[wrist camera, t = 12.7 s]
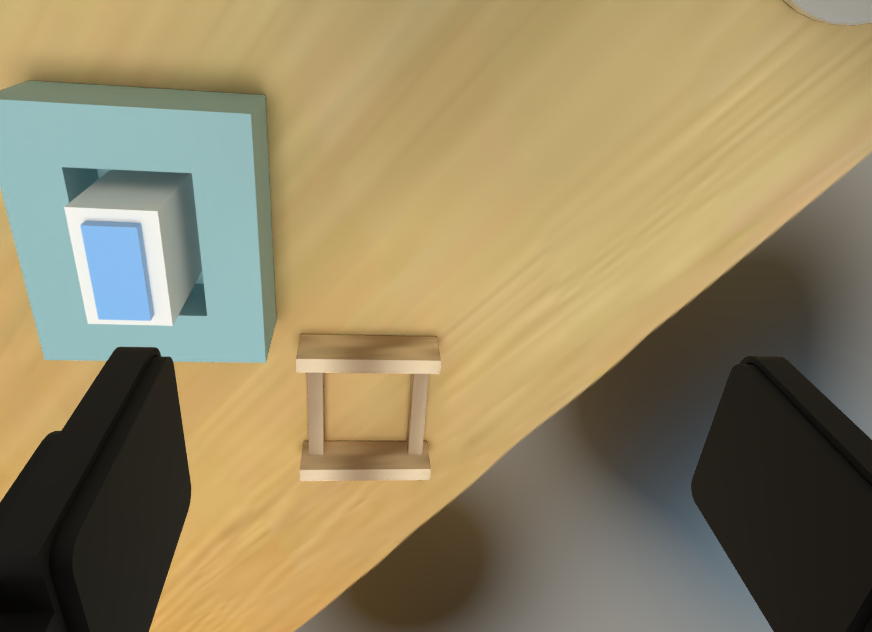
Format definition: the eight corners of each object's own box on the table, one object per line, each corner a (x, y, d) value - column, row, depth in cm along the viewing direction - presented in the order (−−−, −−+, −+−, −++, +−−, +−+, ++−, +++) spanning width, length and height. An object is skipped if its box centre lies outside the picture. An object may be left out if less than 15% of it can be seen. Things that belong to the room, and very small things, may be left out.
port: (265, 94, 35) (250, 113, 30) (276, 323, 41) (266, 365, 37) (28, 80, 33) (-23, 98, 29) (80, 319, 40) (45, 363, 36)
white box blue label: (193, 168, 35) (153, 215, 28) (203, 267, 38) (169, 331, 31) (117, 164, 35) (58, 211, 28) (133, 265, 37) (83, 329, 31)
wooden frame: (436, 336, 43) (441, 360, 40) (426, 451, 48) (429, 479, 45) (300, 334, 42) (296, 358, 39) (303, 451, 47) (300, 481, 44)
